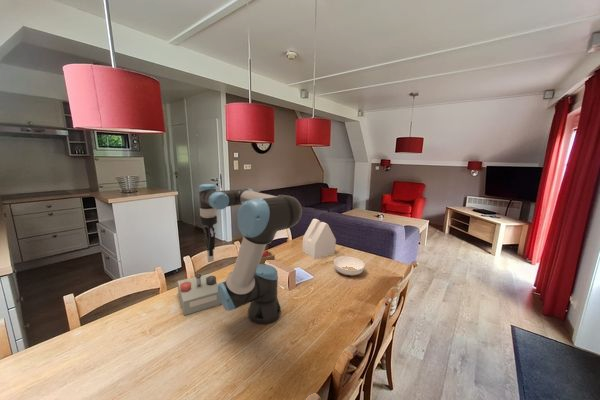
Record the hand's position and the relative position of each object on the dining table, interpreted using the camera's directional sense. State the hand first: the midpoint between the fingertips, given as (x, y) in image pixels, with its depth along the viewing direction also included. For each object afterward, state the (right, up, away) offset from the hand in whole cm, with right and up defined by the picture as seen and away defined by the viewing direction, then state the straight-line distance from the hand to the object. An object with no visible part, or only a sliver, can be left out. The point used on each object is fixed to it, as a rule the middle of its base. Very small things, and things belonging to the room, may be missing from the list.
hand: (210, 261), depth 122 cm
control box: (-6, -19, +1) cm, 20 cm away
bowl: (+77, -16, +34) cm, 85 cm away
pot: (-6, -12, -1) cm, 14 cm away
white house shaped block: (+59, -10, +62) cm, 86 cm away
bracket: (+17, -12, +42) cm, 47 cm away
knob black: (-1, -18, +4) cm, 19 cm away
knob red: (-11, -19, -3) cm, 22 cm away
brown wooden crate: (+18, -12, +43) cm, 48 cm away
